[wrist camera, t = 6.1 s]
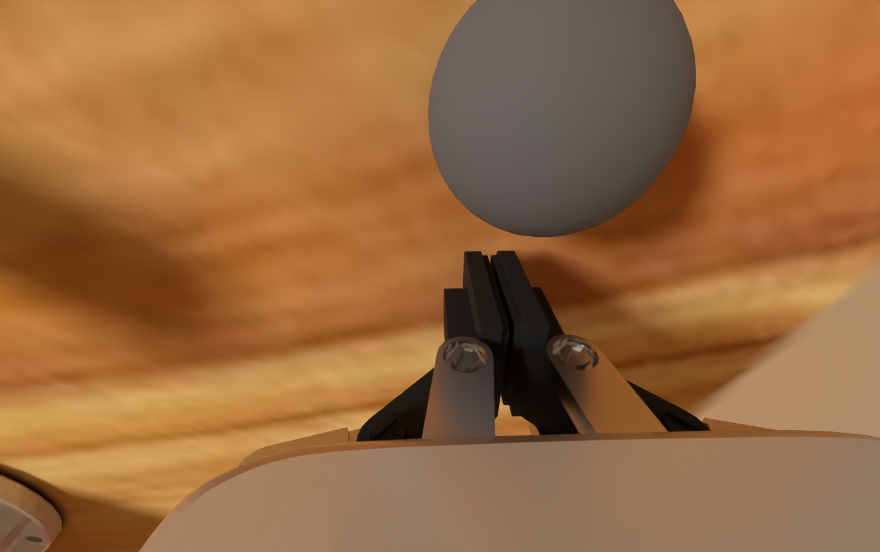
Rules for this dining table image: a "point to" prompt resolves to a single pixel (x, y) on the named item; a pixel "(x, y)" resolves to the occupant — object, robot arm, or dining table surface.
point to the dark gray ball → (560, 108)
